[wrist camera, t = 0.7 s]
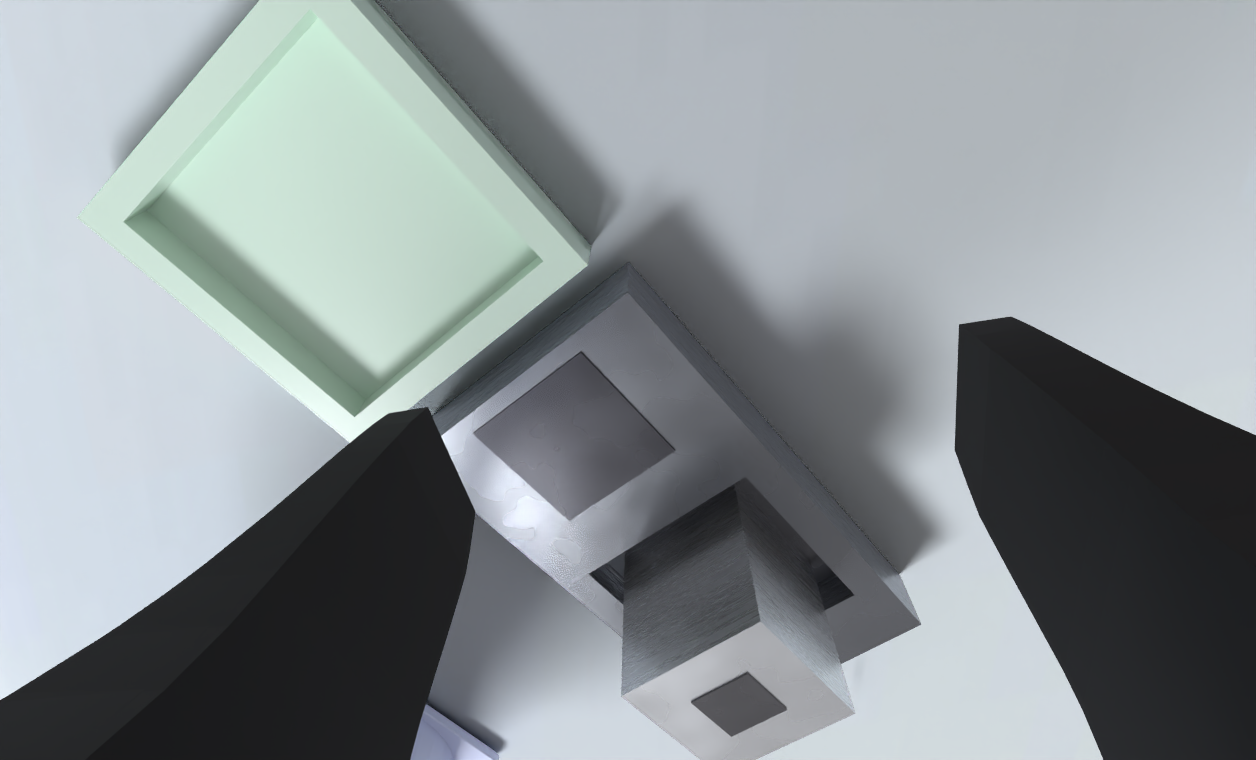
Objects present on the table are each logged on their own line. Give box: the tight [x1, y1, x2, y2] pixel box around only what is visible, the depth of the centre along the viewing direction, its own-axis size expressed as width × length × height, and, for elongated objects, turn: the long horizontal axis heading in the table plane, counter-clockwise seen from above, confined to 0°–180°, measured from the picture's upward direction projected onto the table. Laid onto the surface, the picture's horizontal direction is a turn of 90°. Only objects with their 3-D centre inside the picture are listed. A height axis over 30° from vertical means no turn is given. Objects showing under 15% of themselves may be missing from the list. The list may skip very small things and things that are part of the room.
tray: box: [77, 0, 591, 443], centre depth 19 cm, size 9×9×2 cm
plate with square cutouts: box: [432, 262, 921, 664], centre depth 23 cm, size 8×15×2 cm, turn 40°
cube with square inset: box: [621, 483, 855, 760], centre depth 21 cm, size 4×4×6 cm
